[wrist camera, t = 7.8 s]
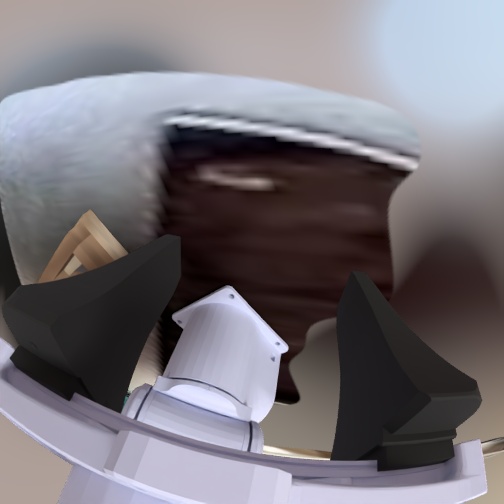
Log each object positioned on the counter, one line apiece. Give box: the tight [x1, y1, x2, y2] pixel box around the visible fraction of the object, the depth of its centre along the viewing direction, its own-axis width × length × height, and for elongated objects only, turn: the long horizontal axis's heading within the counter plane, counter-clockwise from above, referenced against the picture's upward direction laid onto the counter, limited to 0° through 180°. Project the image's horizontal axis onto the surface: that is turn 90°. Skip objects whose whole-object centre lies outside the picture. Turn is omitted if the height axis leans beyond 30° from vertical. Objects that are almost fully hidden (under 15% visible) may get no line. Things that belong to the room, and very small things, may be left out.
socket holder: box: [37, 209, 129, 284], centre depth 26 cm, size 10×21×7 cm, turn 128°
